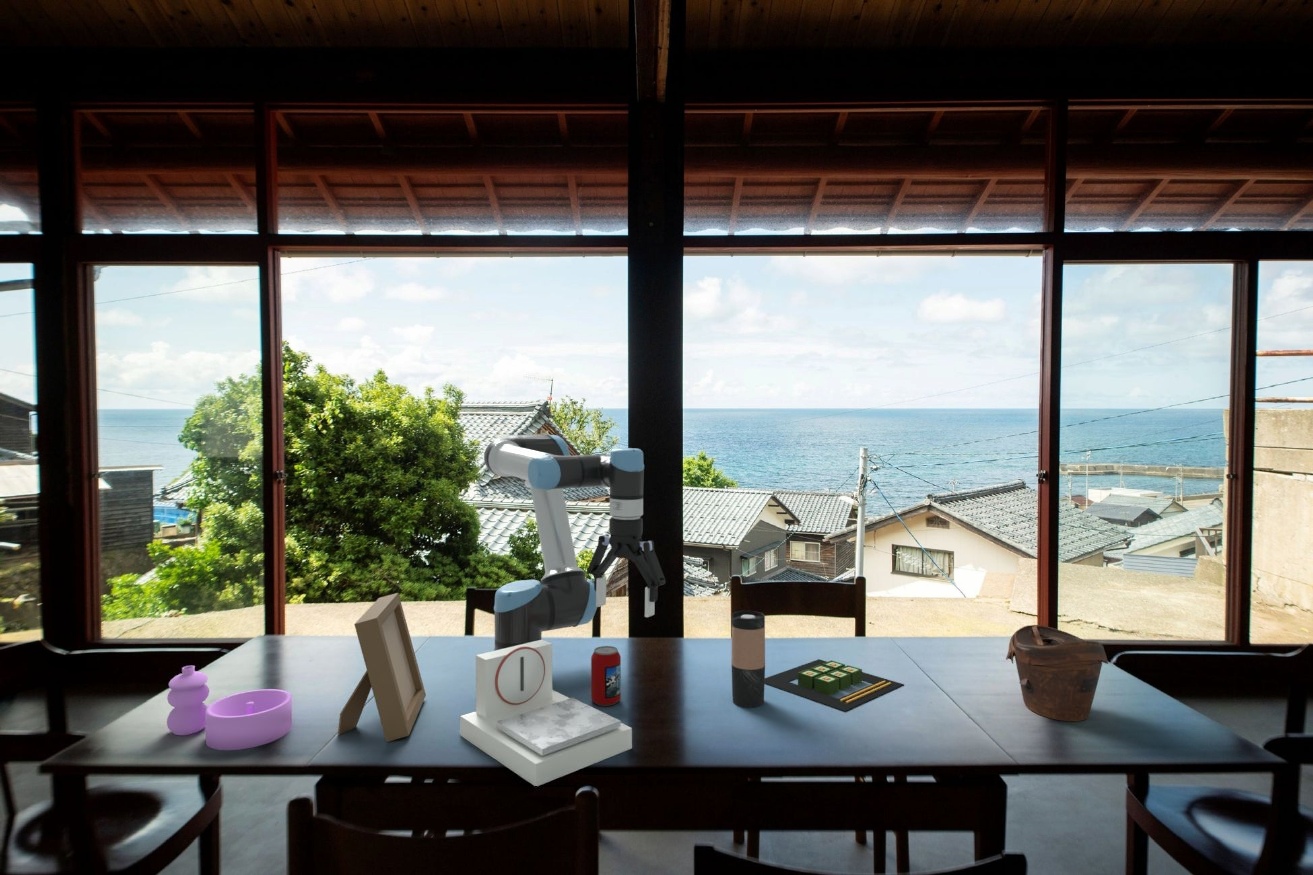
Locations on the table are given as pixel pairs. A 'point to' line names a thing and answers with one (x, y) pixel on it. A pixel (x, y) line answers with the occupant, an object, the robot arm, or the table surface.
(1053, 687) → the case
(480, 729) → the scale
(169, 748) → the table surface
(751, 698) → the travel mug
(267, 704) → the container set
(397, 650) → the photo frame
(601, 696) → the beverage can
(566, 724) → the weighing pan
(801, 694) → the sushi
